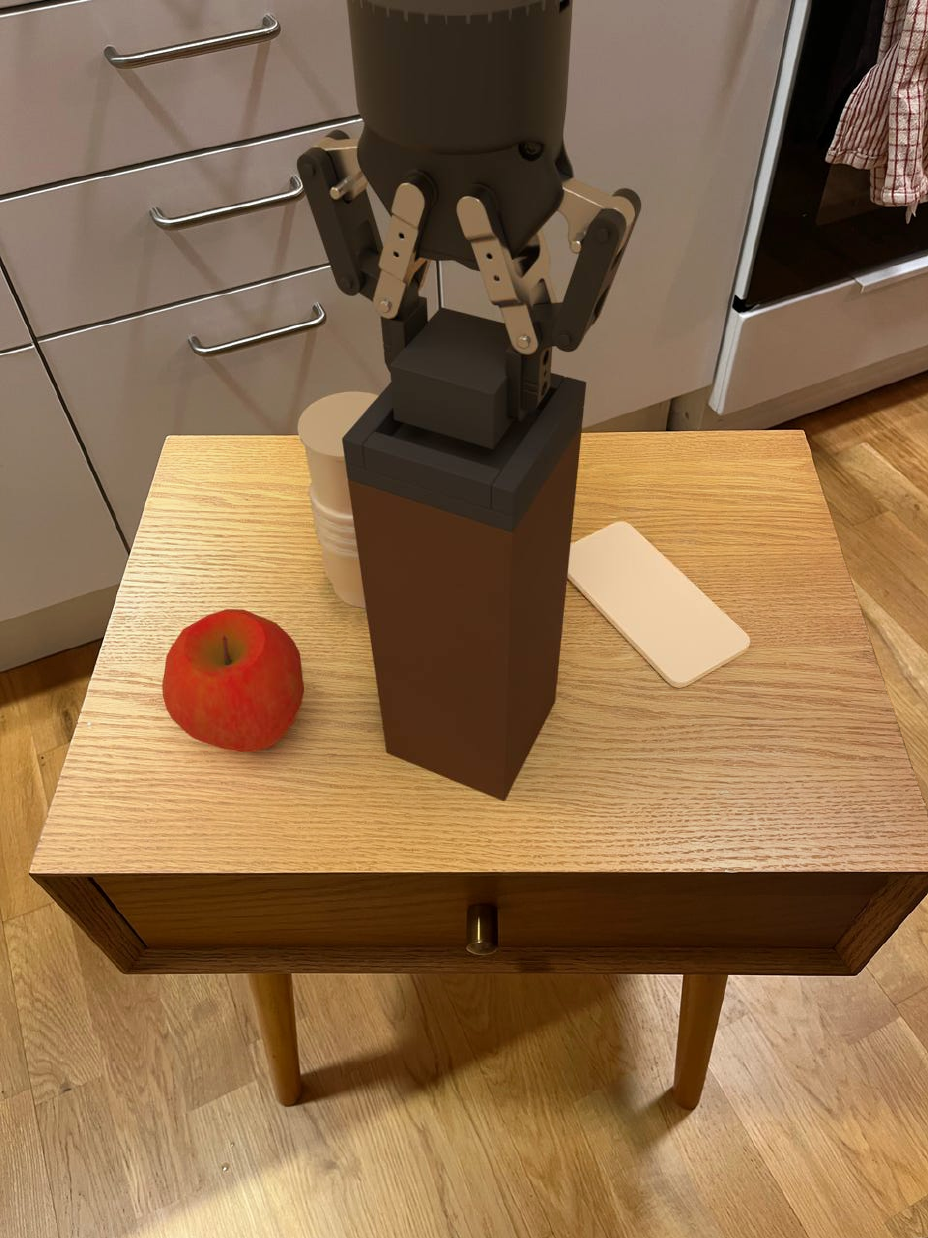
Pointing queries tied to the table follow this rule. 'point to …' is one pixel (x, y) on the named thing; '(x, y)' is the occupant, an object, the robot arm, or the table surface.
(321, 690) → the table surface
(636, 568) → the smartphone
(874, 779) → the table surface
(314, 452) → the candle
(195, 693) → the apple
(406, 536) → the brown square canister
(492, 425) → the dark brown square block
